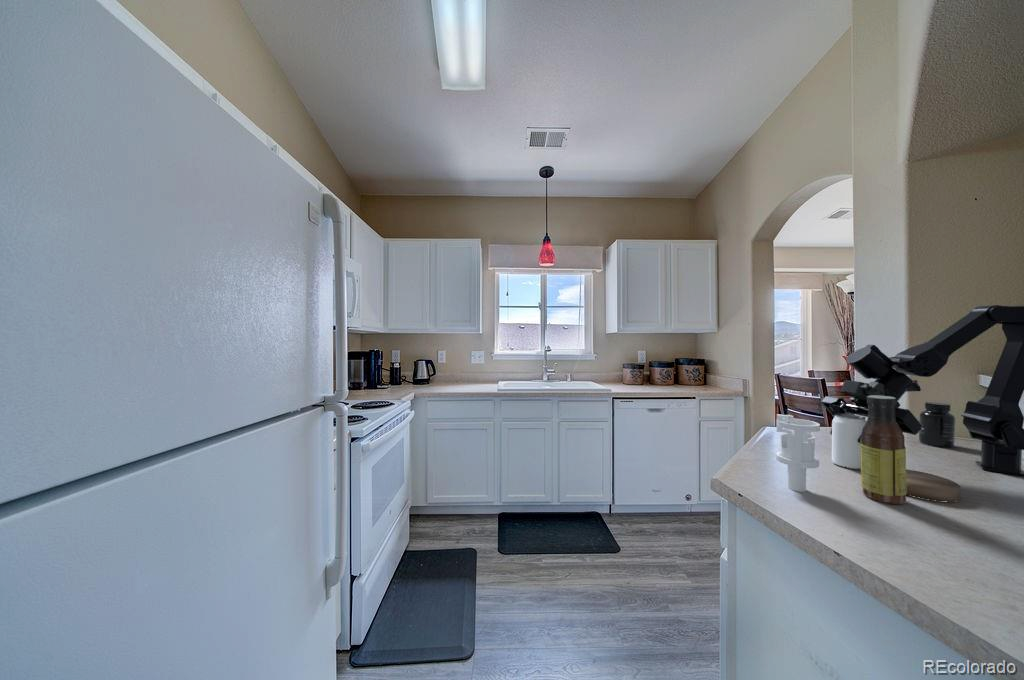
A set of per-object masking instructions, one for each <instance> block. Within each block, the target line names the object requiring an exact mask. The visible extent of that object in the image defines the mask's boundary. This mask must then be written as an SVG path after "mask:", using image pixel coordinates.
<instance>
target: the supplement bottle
mask: <svg viewBox="0 0 1024 680" xmlns="http://www.w3.org/2000/svg"><path fill="white" fill-rule="evenodd" d="M924 409H925V410H922V411H920V413H919V420H918V421H919V422H920V423H921V430H920V431H919V432H918V441H919V443H921V444H923V445H926V444H927V445H926V446H930V445H932V446H931V447H935V446H937V448H943V447H945V448H944V449H950V448H952V449H953V447H955V441H956V417H955V415H953V414H952V413H950V412H951V410H952V409H951V404H950V403H946V402H937V401H925V403H924Z"/></svg>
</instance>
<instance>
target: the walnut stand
mask: <svg viewBox="0 0 1024 680" xmlns="http://www.w3.org/2000/svg"><path fill="white" fill-rule="evenodd" d="M906 484H907V494H906V496H907V495H911V496H915V497H920V498H924V499H929V500H936V501H947V502H952V503H956V502H955V501H958V502H959V501H961V500H960V499H961V486H960V484H958V483H957V482H956V481H954V480H952V479H949V478H946V477H943V476H939V475H936V474H932V473H928V472H923V471H919V470H918V471H917V470H914V469H913V470H912V469H907V468H906ZM929 500H928V501H929ZM936 501H935V502H936ZM947 502H946V503H947Z"/></svg>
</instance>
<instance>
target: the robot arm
mask: <svg viewBox="0 0 1024 680" xmlns="http://www.w3.org/2000/svg"><path fill="white" fill-rule="evenodd" d="M997 324H998V325H1001V330H1002V331H1003V335H1004V337H1005V339H1006V341H1005V344H1004V346H1003V350H1002V351H1001V354H1000V356H999V359H998V362H997V364H996V366H995V369H994V370H993V371H994V372H993V375H992V377H991V380H990V382H989V384H988V386H987V388H986V389H987V390H986V392H985V394H984V396H983V397H982V398H981V399H979V400H977V401H973V400H968V401H967V402H966V404H965V409H964V412H963V413H961V415H960V417H962V424H963V425H964V426H965V428H966V429H967V431H968V434H969V435H970V438H971V439H973V440H974V439H975V440H978V441H979V440H980V441H981V451H980V452H981V454H980V460H979V461H978V460H975V461H974V463H975V464H976V465H977V466H978V467H979V468H980V469H982V470H985V471H989V472H996V473H1003V474H1008V475H1009V474H1010V475H1016V476H1021V477H1024V470H1023V469H1022V458H1023V455H1022V454H1023V452H1022V451H1024V428H1023V427H1024V414H1023V412H1022V408H1020V406H1019V405H1020V402H1021V398H1022V397H1023V394H1024V304H1022V305H1021V304H1019V305H1014V306H1013V305H1012V306H1010V305H1007V306H1006V305H1001V304H999V305H998V304H994V305H981V306H980V305H979V306H976V307H974V308H972V309H971V310H970V311H969V313H967V314H966V315H964V316H963V317H962V318H960V319H959V320H957V321H956V322H954V323H953V324H951V325H950V326H948V327H947V328H945V329H944V330H943V331H941V332H939V333H938V334H936V336H934V337H932V338H931V339H929V340H928V341H926V342H924V343H920V344H917V345H914V346H912V347H909V348H907V349H905V350H902V351H901V352H899V353H896V355H894V356H890V357H889V356H887V355H886V354H885V353H883V352H882V350H880V349H879V347H878V346H876V345H875V344H866V346H864V347H862V348H859V349H857V350H856V351H853V352H851V353H850V354H848V356H847V357H846V358H845V363H846V364H848V365H849V366H850V367H851V368H852V369H854V370H855V372H857V373H858V374H860V376H861V377H863V378H864V379H868V380H869V379H873V380H874V381H870V382H869V383H867V382H862V381H858V380H857V381H856V380H849V379H845V380H844V382H843V384H842V386H841V389H840V390H839V392H840V393H841V394H845V395H847V396H848V397H850V398H849V400H850V402H851V403H854V405H853V404H849V403H847V401H846V400H845V399H844V398H842V397H837V396H831V395H828V396H827V395H825V397H823V399H822V400H821V401H820V403H821V405H822V406H824V408H825V409H826V410H827V411H828V412H829V413H830V414H831V416H833V418H834V417H835V414H852V415H858V416H863V417H865V418H868V403H867V396H870V395H879V396H890V397H895V398H896V402H897V404H896V406H895V417H896V423H897V424H898V426H899V427H900V428H901V430H902V432H903V434H904V433H905V434H909V435H917V434H919V431H920V430H921V423H920V422H919V420H918V418H917V417H916V416H915V415H914V414H913V412H911V411H910V409H907V408H901V407H900V406H901V403H900V402H899V400H900V399H901V398H902V397H903V396H904V395H905V393H906V392H907V393H908V392H921V390H922V388H921V387H920V384H919V383H918V380H916V379H912V378H910V376H913V377H914V376H916V377H920V378H921V377H923V378H929V377H933V376H935V375H937V373H939V372H940V371H941V370H942V369H943V368H944V367H945V366H946V365H947V363H948V361H949V357H951V356H952V354H954V353H955V352H957V351H958V350H960V349H961V348H962V347H964V346H966V345H967V344H969V343H970V342H972V341H973V340H975V339H976V338H978V337H979V336H980V335H982V334H983V333H985V332H986V331H988V330H989V329H991V328H992V327H994V326H995V325H997ZM908 375H909V376H908ZM829 434H830V435H831V436H832V427H831V428H830V433H829ZM860 439H861V436H860V437H859V439H858V442H859V443H860V444H861V441H860Z"/></svg>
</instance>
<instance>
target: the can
mask: <svg viewBox="0 0 1024 680" xmlns="http://www.w3.org/2000/svg"><path fill="white" fill-rule="evenodd" d="M866 418H867V417H864V416H860V415H857V414H853V415H852V414H835V417H834V416H833V419H832V421H831V428H832V435H831V462H833V464H834V465H835V464H836V466H838V465H839V466H838V467H840V466H842V467H841V468H844V467H847V468H846V469H849V468H850V469H849V470H856V471H857V470H859V471H861V444H860V443H859V442H858V439H859V437H860V436H861V434H862V429H863V427H864V425H865V424H866V422H867V420H866Z"/></svg>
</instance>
